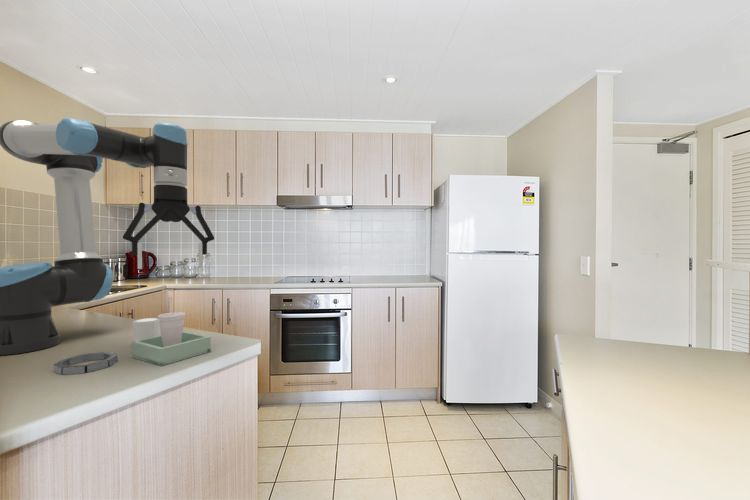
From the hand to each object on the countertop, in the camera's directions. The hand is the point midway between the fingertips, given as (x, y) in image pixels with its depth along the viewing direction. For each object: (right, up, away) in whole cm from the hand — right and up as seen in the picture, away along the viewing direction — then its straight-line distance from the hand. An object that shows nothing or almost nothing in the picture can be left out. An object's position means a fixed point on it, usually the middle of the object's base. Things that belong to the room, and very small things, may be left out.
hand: (171, 268), depth 91 cm
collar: (-15, -23, -8) cm, 29 cm away
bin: (0, -23, 0) cm, 23 cm away
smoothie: (0, -22, 0) cm, 22 cm away
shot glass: (-13, -23, +10) cm, 28 cm away
